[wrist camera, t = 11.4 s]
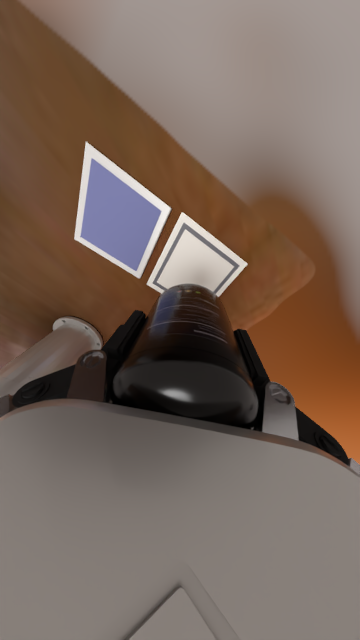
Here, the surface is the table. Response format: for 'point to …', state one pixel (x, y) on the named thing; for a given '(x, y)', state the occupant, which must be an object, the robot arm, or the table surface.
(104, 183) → the ink pad
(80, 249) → the table surface
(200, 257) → the marked card
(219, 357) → the supplement bottle
